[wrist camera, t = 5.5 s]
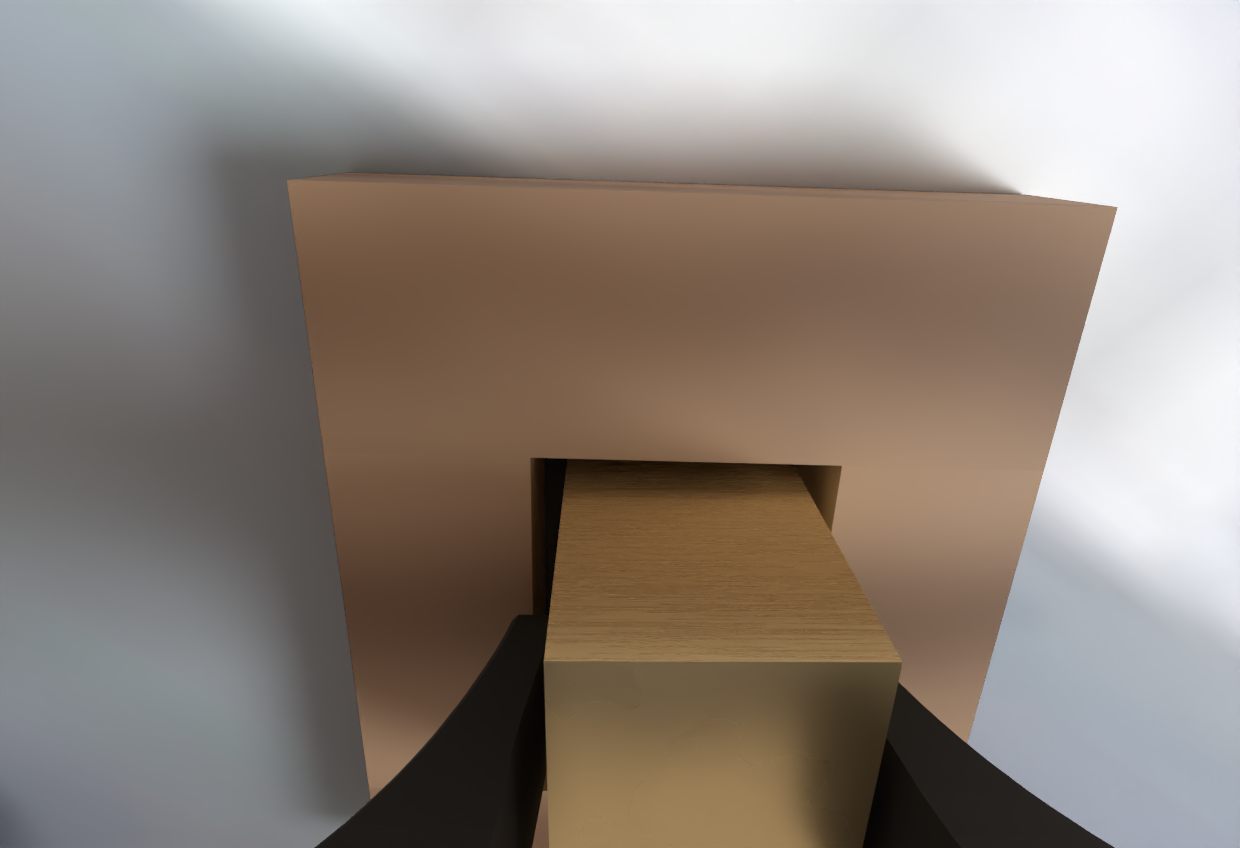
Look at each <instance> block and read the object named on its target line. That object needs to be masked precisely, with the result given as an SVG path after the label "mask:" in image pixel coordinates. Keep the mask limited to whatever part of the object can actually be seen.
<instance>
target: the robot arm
mask: <svg viewBox="0 0 1240 848" xmlns="http://www.w3.org/2000/svg"><path fill="white" fill-rule="evenodd" d="M548 620H549V615H518V616H516V617H515V618H514V619H513V620H512V622H511V624H510V626H509V628H508V629H507V631H506V633H505V635H504V637H503V638H502V640H501V642H500V644H499V645H498V647H497V649H496V650H495V652H494V653H493V655H492V657H491V658H490V660H489V661H488V663H487V664H486V666H485V667H484V669H483V670H482V672H481V673H480V674H479V676H478V677H477V679H476V680H475V682H474V683H473V684H472V686H471V687H470V689H469V690H468V692H467V693H466V694H465V696H464V697H463V698H462V700H461V701H460V702H459V704H458V705H457V706H456V707H455V709H454V710H453V711H452V712H451V714H450V715H449V716H448V717H447V719H446V720H445V721H444V722H443V724H442V725H441V726H440V727H439V729H438V730H437V731H436V732H435V734H434V735H433V736H432V737H431V738H430V739H429V740H428V742H427V743H426V744H425V745H424V746H423V747H422V748H421V750H420V751H419V752H418V753H417V754H416V755H415V756H414V757H413V758H412V759H411V760H410V761H409V763H408V764H407V765H406V766H405V767H404V768H403V769H402V770H401V771H400V772H399V773H398V774H397V775H396V776H395V777H394V778H393V779H392V780H391V781H390V782H389V783H388V784H387V785H386V786H385V787H384V788H383V789H382V790H381V791H379V792H378V793H377V794H376V795H375V796H374V797H373V798H372V799H371V800H370V801H369V802H368V803H367V804H366V805H365V806H364V807H363V808H361V809H360V810H359V811H358V812H357V813H356V814H355V815H354V816H353V817H351V818H350V819H349V820H348V821H347V822H346V823H345V824H343V825H342V826H341V827H340V828H338V829H337V830H336V831H335V832H333V833H332V834H331V835H330V836H329V837H327V838H326V839H325V840H324V841H322V842H321V843H320V844H319V845H317V846H316V847H315V848H532V845H533V840H534V835H535V830H536V824H537V819H538V814H539V809H540V803H541V798H542V793H543V787H544V782H545V777H546V771H547V758H546V724H545V689H544V655H545V646H546V637H547V629H548ZM862 848H1114V847H1113V846H1111V845H1109V844H1108V843H1106V842H1104V841H1103V840H1101V839H1099V838H1098V837H1096V836H1095V835H1093V834H1091V833H1090V832H1088V831H1087V830H1085V829H1084V828H1082V827H1081V826H1079V825H1078V824H1076V823H1075V822H1073V821H1072V820H1070V819H1069V818H1067V817H1066V816H1064V815H1063V814H1061V813H1059V812H1058V811H1056V810H1055V809H1053V808H1052V807H1050V806H1049V805H1047V804H1046V803H1045V802H1043V801H1042V800H1040V799H1039V798H1037V797H1036V796H1035V795H1033V794H1032V793H1030V792H1029V791H1027V790H1026V789H1025V788H1023V787H1022V786H1021V785H1019V784H1018V783H1017V782H1015V781H1014V780H1013V779H1011V778H1010V777H1009V776H1007V775H1006V774H1005V773H1003V772H1002V771H1001V770H999V769H998V768H997V767H995V766H994V765H993V764H991V763H990V762H989V761H988V760H986V759H985V758H984V757H983V756H981V755H980V754H979V753H978V752H976V751H975V750H974V749H973V748H971V747H970V746H969V745H968V744H967V743H966V742H964V741H963V740H962V739H961V738H960V737H959V736H957V735H956V734H955V733H954V732H953V731H952V730H950V729H949V728H948V727H947V726H946V725H945V724H943V723H942V722H941V721H940V720H939V719H938V718H937V717H936V716H934V715H933V714H932V713H931V712H930V711H929V710H928V709H927V708H926V707H925V706H923V705H922V704H921V703H920V702H919V701H918V700H917V699H916V698H915V697H914V696H913V695H912V694H911V693H910V692H909V691H908V690H907V689H906V688H904V687H903V686H902V685H901V684H900V683H899V682H898V686H897V691H896V695H895V700H894V704H893V709H892V714H891V718H890V723H889V727H888V732H887V737H886V741H885V746H884V750H883V755H882V760H881V764H880V769H879V773H878V778H877V783H876V787H875V792H874V796H873V801H872V806H871V810H870V815H869V819H868V824H867V829H866V833H865V838H864V842H863V847H862Z"/></svg>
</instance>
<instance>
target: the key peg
mask: <svg viewBox="0 0 1240 848" xmlns="http://www.w3.org/2000/svg"><path fill="white" fill-rule="evenodd" d="M902 663H903V662H902V660H901V658H900V657H899V655H898V653H897V651H896V649H895V648H894V646H893V644H892V642H891V640H890V638H889V637H888V635H887V633H886V631H885V629H884V628H883V626H882V624H881V622H880V620H879V619H878V617H877V615H876V613H875V611H874V609H873V608H872V606H871V604H870V602H869V600H868V599H867V597H866V595H865V593H864V591H863V590H862V588H861V586H860V584H859V582H858V581H857V579H856V577H855V575H854V573H853V571H852V570H851V568H850V566H849V564H848V562H847V561H846V559H845V557H844V555H843V553H842V552H841V550H840V548H839V546H838V544H837V543H836V541H835V539H834V537H833V535H832V533H831V532H830V530H829V528H828V526H827V524H826V523H825V521H824V519H823V517H822V515H821V514H820V512H819V510H818V508H817V506H816V504H815V503H814V501H813V499H812V497H811V495H810V494H809V492H808V490H807V488H806V486H805V485H804V483H803V481H802V479H801V477H800V476H799V474H798V472H797V470H796V468H795V466H794V465H793V464H757V463H719V462H680V461H642V460H603V459H567V467H566V476H565V484H564V493H563V501H562V510H561V518H560V527H559V535H558V544H557V552H556V561H555V569H554V578H553V586H552V595H551V603H550V612H549V620H548V629H547V637H546V646H545V655H544V689H545V724H546V758H547V793H548V828H549V848H862V847H863V842H864V838H865V833H866V829H867V824H868V819H869V815H870V810H871V806H872V801H873V796H874V792H875V787H876V783H877V778H878V773H879V769H880V764H881V760H882V755H883V750H884V746H885V741H886V737H887V732H888V727H889V723H890V718H891V714H892V709H893V704H894V700H895V695H896V691H897V686H898V681H899V677H900V672H901V668H902Z"/></svg>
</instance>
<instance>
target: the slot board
mask: <svg viewBox="0 0 1240 848" xmlns="http://www.w3.org/2000/svg"><path fill="white" fill-rule="evenodd" d="M287 186H288V194H289V201H290V209H291V216H292V223H293V231H294V238H295V246H296V253H297V260H298V268H299V275H300V282H301V290H302V297H303V305H304V312H305V319H306V327H307V334H308V342H309V349H310V356H311V364H312V371H313V378H314V386H315V393H316V401H317V408H318V415H319V423H320V430H321V438H322V445H323V452H324V460H325V467H326V474H327V482H328V489H329V497H330V504H331V511H332V519H333V526H334V534H335V541H336V548H337V556H338V563H339V570H340V578H341V585H342V593H343V600H344V607H345V615H346V622H347V630H348V637H349V644H350V652H351V659H352V667H353V674H354V681H355V689H356V696H357V703H358V711H359V718H360V726H361V733H362V740H363V748H364V755H365V763H366V770H367V777H368V785H369V792H370V799H372V798H373V797H374V796H375V795H376V794H377V793H378V792H379V791H381V790H382V789H383V788H384V787H385V786H386V785H387V784H388V783H389V782H390V781H391V780H392V779H393V778H394V777H395V776H396V775H397V774H398V773H399V772H400V771H401V770H402V769H403V768H404V767H405V766H406V765H407V764H408V763H409V761H410V760H411V759H412V758H413V757H414V756H415V755H416V754H417V753H418V752H419V751H420V750H421V748H422V747H423V746H424V745H425V744H426V743H427V742H428V740H429V739H430V738H431V737H432V736H433V735H434V734H435V732H436V731H437V730H438V729H439V727H440V726H441V725H442V724H443V722H444V721H445V720H446V719H447V717H448V716H449V715H450V714H451V712H452V711H453V710H454V709H455V707H456V706H457V705H458V704H459V702H460V701H461V700H462V698H463V697H464V696H465V694H466V693H467V692H468V690H469V689H470V687H471V686H472V684H473V683H474V682H475V680H476V679H477V677H478V676H479V674H480V673H481V672H482V670H483V669H484V667H485V666H486V664H487V663H488V661H489V660H490V658H491V657H492V655H493V653H494V652H495V650H496V649H497V647H498V645H499V644H500V642H501V640H502V638H503V637H504V635H505V633H506V631H507V629H508V628H509V626H510V624H511V622H512V620H513V619H514V618H515V617H516V616H518V615H546V563H545V458H565V459H603V460H642V461H680V462H719V463H757V464H796V465H798V467H797V472H798V474H799V476H800V477H801V479H802V481H803V483H804V485H805V486H806V488H807V490H808V492H809V494H810V495H811V497H812V499H813V501H814V503H815V504H816V506H817V508H818V510H819V512H820V514H821V515H822V517H823V519H824V521H825V523H826V524H827V526H828V528H829V530H830V532H831V533H832V535H833V537H834V539H835V541H836V543H837V544H838V546H839V548H840V550H841V552H842V553H843V555H844V557H845V559H846V561H847V562H848V564H849V566H850V568H851V570H852V571H853V573H854V575H855V577H856V579H857V581H858V582H859V584H860V586H861V588H862V590H863V591H864V593H865V595H866V597H867V599H868V600H869V602H870V604H871V606H872V608H873V609H874V611H875V613H876V615H877V617H878V619H879V620H880V622H881V624H882V626H883V628H884V629H885V631H886V633H887V635H888V637H889V638H890V640H891V642H892V644H893V646H894V648H895V649H896V651H897V653H898V655H899V657H900V658H901V660H902V662H903V663H902V668H901V672H900V677H899V681H898V682H899V683H900V684H901V685H902V686H903V687H904V688H906V689H907V690H908V691H909V692H910V693H911V694H912V695H913V696H914V697H915V698H916V699H917V700H918V701H919V702H920V703H921V704H922V705H923V706H925V707H926V708H927V709H928V710H929V711H930V712H931V713H932V714H933V715H934V716H936V717H937V718H938V719H939V720H940V721H941V722H942V723H943V724H945V725H946V726H947V727H948V728H949V729H950V730H952V731H953V732H954V733H955V734H956V735H957V736H959V737H960V738H961V739H962V740H963V741H964V742H966V743H967V742H968V738H969V735H970V731H971V728H972V724H973V721H974V717H975V714H976V710H977V706H978V703H979V699H980V696H981V692H982V689H983V685H984V681H985V678H986V674H987V671H988V667H989V664H990V660H991V656H992V653H993V649H994V646H995V642H996V639H997V635H998V631H999V628H1000V624H1001V621H1002V617H1003V614H1004V610H1005V607H1006V603H1007V599H1008V596H1009V592H1010V589H1011V585H1012V582H1013V578H1014V574H1015V571H1016V567H1017V564H1018V560H1019V557H1020V553H1021V549H1022V546H1023V542H1024V539H1025V535H1026V532H1027V528H1028V525H1029V521H1030V517H1031V514H1032V510H1033V507H1034V503H1035V500H1036V496H1037V492H1038V489H1039V485H1040V482H1041V478H1042V475H1043V471H1044V467H1045V464H1046V460H1047V457H1048V453H1049V450H1050V446H1051V442H1052V439H1053V435H1054V432H1055V428H1056V425H1057V421H1058V418H1059V414H1060V410H1061V407H1062V403H1063V400H1064V396H1065V393H1066V389H1067V385H1068V382H1069V378H1070V375H1071V371H1072V368H1073V364H1074V360H1075V357H1076V353H1077V350H1078V346H1079V343H1080V339H1081V336H1082V332H1083V328H1084V325H1085V321H1086V318H1087V314H1088V311H1089V307H1090V303H1091V300H1092V296H1093V293H1094V289H1095V286H1096V282H1097V278H1098V275H1099V271H1100V268H1101V264H1102V261H1103V257H1104V253H1105V250H1106V246H1107V243H1108V239H1109V236H1110V232H1111V229H1112V225H1113V221H1114V218H1115V214H1116V211H1117V207H1112V206H1105V205H1097V204H1090V203H1083V202H1075V201H1068V200H1060V199H1053V198H1046V197H1038V196H1031V195H1018V194H988V193H957V192H927V191H897V190H866V189H836V188H806V187H775V186H745V185H715V184H685V183H654V182H624V181H594V180H563V179H533V178H503V177H472V176H442V175H412V174H381V173H351V172H347V173H339V174H331V175H323V176H315V177H307V178H299V179H291V180H287ZM532 848H549V828H548V793H547V771H546V777H545V782H544V787H543V793H542V798H541V803H540V809H539V814H538V819H537V824H536V830H535V835H534V840H533V845H532Z"/></svg>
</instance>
